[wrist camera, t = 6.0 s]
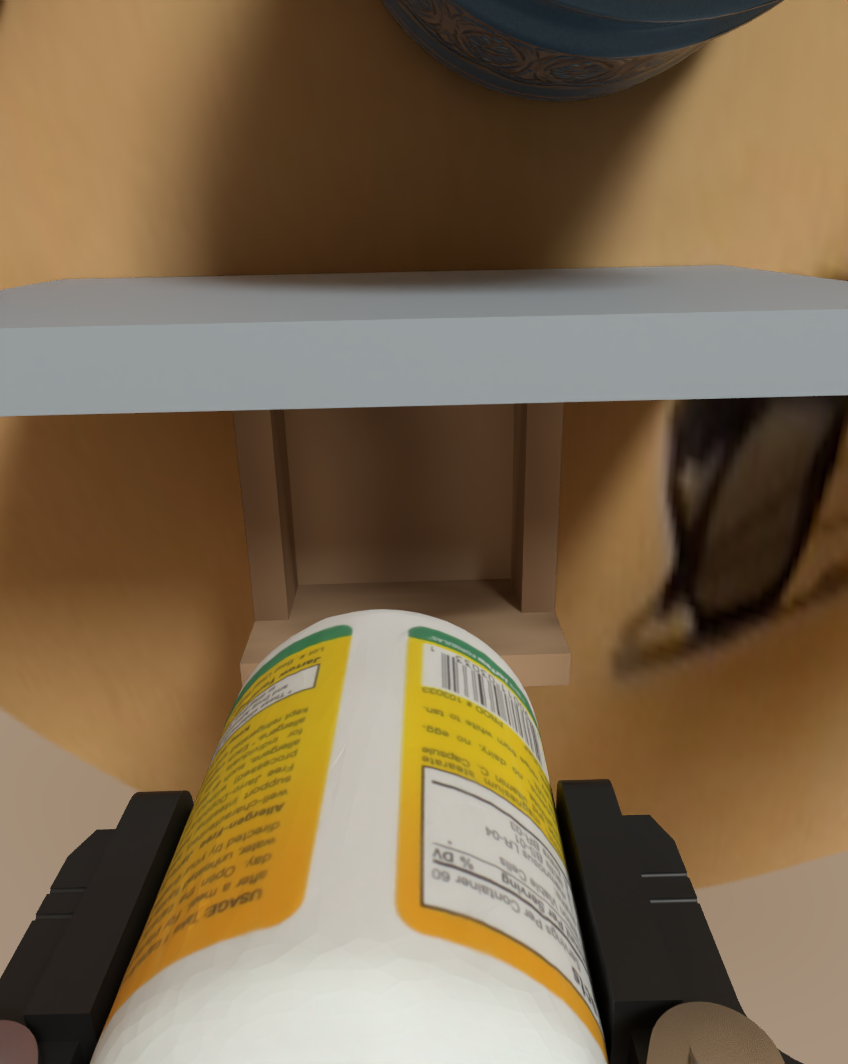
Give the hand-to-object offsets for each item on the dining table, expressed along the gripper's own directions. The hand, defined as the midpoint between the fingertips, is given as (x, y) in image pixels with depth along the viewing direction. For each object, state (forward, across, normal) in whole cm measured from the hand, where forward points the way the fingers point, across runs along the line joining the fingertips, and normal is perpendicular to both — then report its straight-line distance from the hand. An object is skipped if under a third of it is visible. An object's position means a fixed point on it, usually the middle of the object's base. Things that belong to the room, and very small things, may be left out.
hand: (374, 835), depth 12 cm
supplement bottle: (+3, 0, 0) cm, 3 cm away
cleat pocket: (+19, 0, -1) cm, 19 cm away
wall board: (+19, 0, -6) cm, 20 cm away
